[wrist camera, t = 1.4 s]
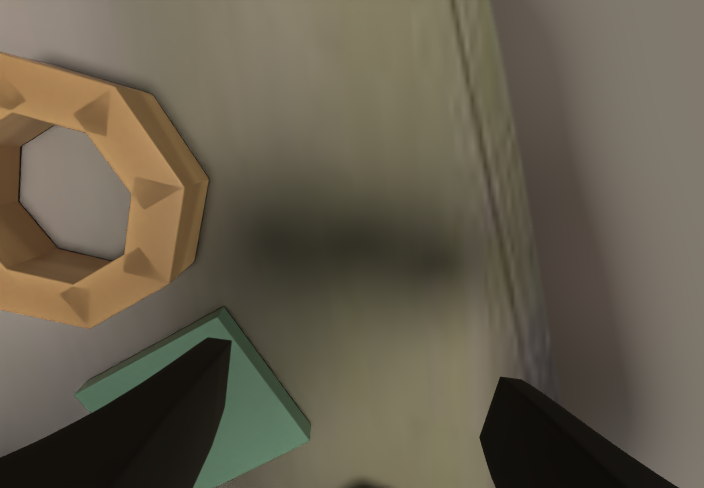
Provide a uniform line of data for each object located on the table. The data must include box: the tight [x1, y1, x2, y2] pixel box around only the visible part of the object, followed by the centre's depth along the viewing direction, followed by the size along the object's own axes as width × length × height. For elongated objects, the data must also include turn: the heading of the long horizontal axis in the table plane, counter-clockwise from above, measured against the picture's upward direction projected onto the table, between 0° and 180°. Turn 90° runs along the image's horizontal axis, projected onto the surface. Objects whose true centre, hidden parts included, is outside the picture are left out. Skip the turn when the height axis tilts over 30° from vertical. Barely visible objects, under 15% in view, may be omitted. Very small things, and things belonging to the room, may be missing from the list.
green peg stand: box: [74, 307, 311, 488], centre depth 18 cm, size 9×9×7 cm
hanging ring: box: [0, 52, 209, 328], centre depth 16 cm, size 10×10×3 cm
